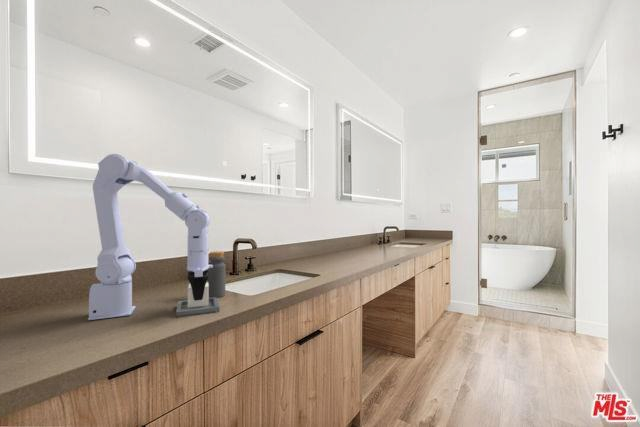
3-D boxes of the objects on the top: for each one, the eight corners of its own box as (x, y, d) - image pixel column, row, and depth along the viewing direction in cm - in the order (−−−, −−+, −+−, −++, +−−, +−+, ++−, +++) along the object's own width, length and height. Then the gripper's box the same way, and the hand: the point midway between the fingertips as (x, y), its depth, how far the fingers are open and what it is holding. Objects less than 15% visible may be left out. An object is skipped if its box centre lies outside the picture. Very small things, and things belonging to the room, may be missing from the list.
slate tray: (176, 317, 78) (176, 312, 78) (178, 306, 88) (178, 301, 88) (219, 311, 82) (219, 306, 82) (216, 301, 92) (216, 297, 92)
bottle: (208, 298, 95) (209, 253, 95) (205, 294, 100) (206, 251, 100) (226, 296, 98) (227, 252, 98) (223, 292, 103) (223, 250, 103)
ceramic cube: (187, 307, 81) (187, 288, 81) (188, 302, 86) (188, 283, 86) (208, 305, 83) (208, 286, 83) (208, 300, 88) (208, 282, 89)
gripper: (214, 252, 80) (214, 302, 80) (211, 248, 93) (211, 290, 93) (186, 254, 77) (186, 305, 77) (187, 249, 90) (187, 292, 90)
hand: (198, 297), depth 85 cm, fingers closed on ceramic cube, 5 cm apart
